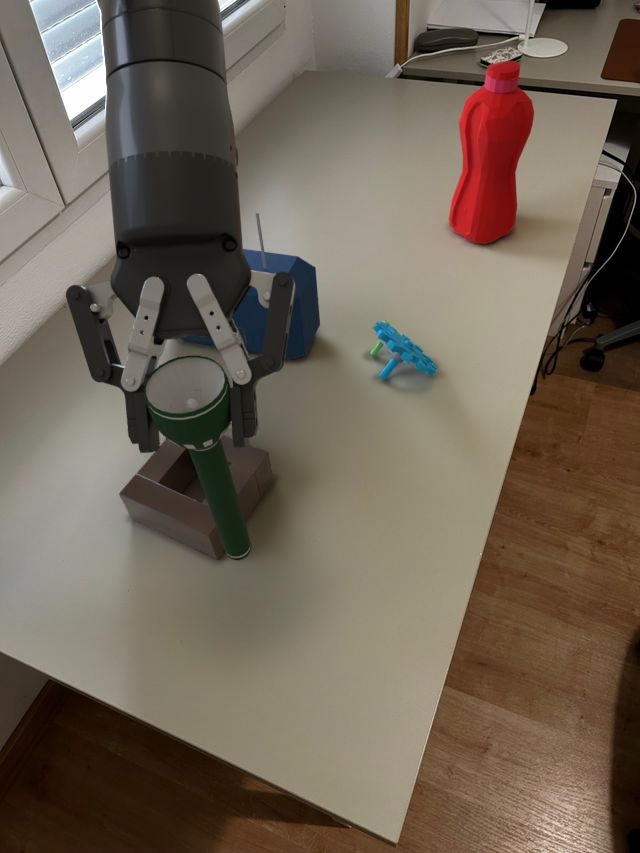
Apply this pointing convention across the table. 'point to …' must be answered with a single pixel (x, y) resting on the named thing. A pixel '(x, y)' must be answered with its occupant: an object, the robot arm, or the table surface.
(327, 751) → the table surface
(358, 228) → the table surface
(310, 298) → the radio
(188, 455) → the holder
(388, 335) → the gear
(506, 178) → the water bottle
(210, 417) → the flashlight
